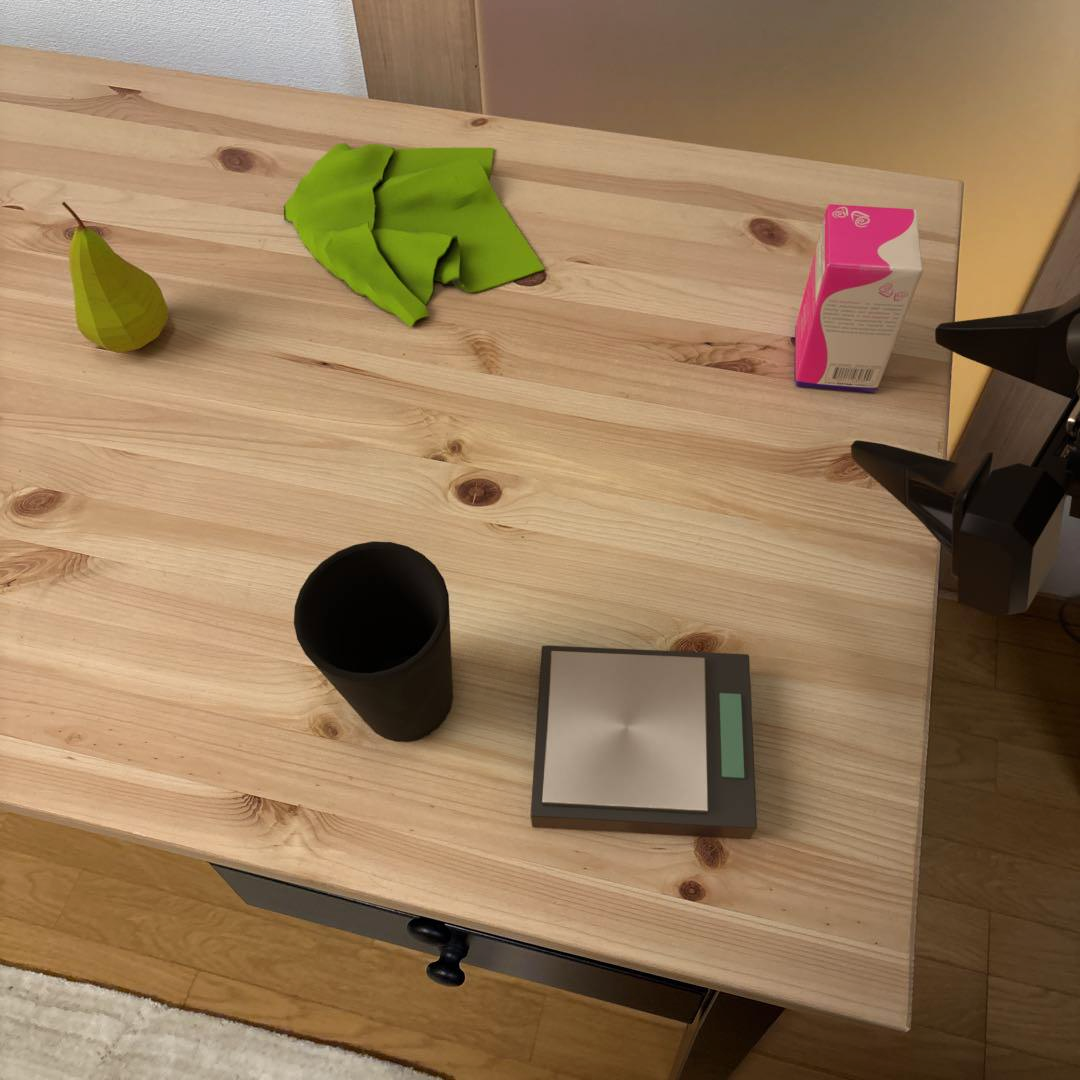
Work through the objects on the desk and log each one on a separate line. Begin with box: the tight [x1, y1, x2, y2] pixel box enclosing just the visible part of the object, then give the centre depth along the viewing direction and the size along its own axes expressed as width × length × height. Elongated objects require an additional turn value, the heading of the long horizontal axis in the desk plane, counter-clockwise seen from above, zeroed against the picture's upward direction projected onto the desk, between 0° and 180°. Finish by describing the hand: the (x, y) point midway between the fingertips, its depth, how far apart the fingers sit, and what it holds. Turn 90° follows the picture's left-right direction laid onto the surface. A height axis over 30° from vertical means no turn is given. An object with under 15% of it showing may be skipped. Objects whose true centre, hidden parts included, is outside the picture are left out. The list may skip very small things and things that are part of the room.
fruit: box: [61, 201, 170, 354], centre depth 70 cm, size 6×6×12 cm
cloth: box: [283, 142, 546, 328], centre depth 78 cm, size 20×22×2 cm
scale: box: [530, 644, 758, 840], centre depth 56 cm, size 12×10×3 cm
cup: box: [293, 541, 454, 743], centre depth 54 cm, size 8×8×12 cm
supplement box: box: [794, 203, 924, 394], centre depth 67 cm, size 6×6×12 cm
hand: (896, 389), depth 51 cm, fingers open, 9 cm apart
